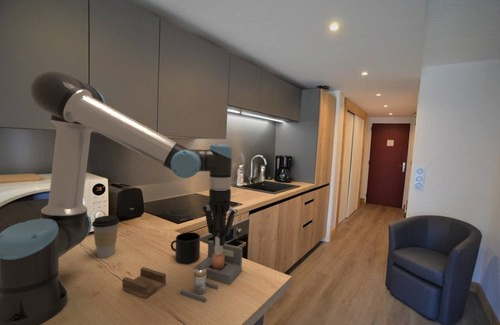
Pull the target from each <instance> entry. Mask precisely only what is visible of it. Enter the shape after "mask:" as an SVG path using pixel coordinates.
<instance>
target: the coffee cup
mask: <svg viewBox="0 0 500 325" xmlns="http://www.w3.org/2000/svg"><path fill="white" fill-rule="evenodd" d="M119 223H120V219H119V218H118V216H116V215H111V214H110V215H101V216H98V217H96V218H94V220H93V222H91V227H93V237H94V245H95V248H96V254H97V257H98V258H108V257H109V258H110V257H112V256H113V255H114V254H115V251H116V242H117V236H118V229H119V227H118V224H119Z"/></svg>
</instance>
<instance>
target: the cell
mask: <svg viewBox="0 0 500 325" xmlns="http://www.w3.org/2000/svg"><path fill="white" fill-rule="evenodd" d="M192 273H193V281H192V282H193V287H192V288H193V292H192V293H195V294H198V295H201V296H203V295H204V294H205V293H206V292H207V286H206V281H207V279H208V278H207V268H206V267H205V266H197V267H195V266H194V268H193V272H192Z"/></svg>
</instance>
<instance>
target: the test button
mask: <svg viewBox="0 0 500 325" xmlns="http://www.w3.org/2000/svg"><path fill="white" fill-rule="evenodd" d="M224 256H225V255H224V253H221V254H220V255H219V256H218V255H215V253H213V254H212V267H213V268H215V269H216V270H218V269H221V268H223V267H224Z"/></svg>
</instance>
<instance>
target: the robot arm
mask: <svg viewBox="0 0 500 325" xmlns="http://www.w3.org/2000/svg"><path fill="white" fill-rule="evenodd" d="M30 96H31V98H32V100H33V102H34V104H36V106H38V108H40V109H42V111H45V112H46V113H49V114H51V115H50V122H51V123H52V124H53V125H54V126H55V127H56V131H55V142H54V148H53V149H54V150H53V158H52V159H53V161H52V168H51V169H52V170H51V175H50V176H51V179H50V184H49V185H50V187H49V195H48V204H47V205H45V206H44V207H42V208H41V210H40V216H39V217H40V218H35V219H30V220H25V221H24V222H19V223H15V224H12V225H11V226H9V227H7V228H5V229H4V230H2V231H1V232H0V325H40V324H42V323H44V322H46V321H48V320H50V319H51V318H53V317H55V316H56V315H57V314H59V312H61V311H62V310H63V308H64V307H65V306H66V305H67V303H68V291H67V289H66V287H65V285H64V283H63V281H62V279H61V277H60V274H59V272H60V271H59V269H60V267H59V265H60V264H59V262H60V261H59V259H60V257H63V255H65V254H66V253H68V252H70V251H71V250H72V249H73V248H75V247H76V246H78V245H79V244H80V243H82V242H83V241H84V240H85V239H86V238H87V236H88V235H89V234H90V232H91V229H92V219H91V216H89V215H88V208H87V206H86V205H84V203H83V202H84V194H85V185H86V178H87V177H86V176H87V168H88V160H89V153H90V152H89V150H90V143H91V142H90V141H91V133H92V132H93V131H94V132H96V133H99V134H100V135H102V136H104V137H106V138H107V139H108V138H109V139H111V140H112V141H114V142H116V143H118V144H120V145H122V146H123V147H126V148H127V149H129V150H132V151H134V152H136V153H138V154H140V155H142V156H143V157H146V158H147V159H149V160H151V161H153V162H155V163H157V164H159V165H161V166H163V167H165V168H166V169H169V170H170V171H172V172H173V174H174V175H176V176H177V177H179V178H181V179H188V178H189V179H190V178H192V177H193V176H195V175H197V173H199V172H209V182H208V183H209V184H208V185H209V186H208V187H209V188H210V189H209V191H208V192H209V193H208V194H209V195H208V198H209V201H208V204H207V205H204V206H202V210H203V211H204V213H205V214H204V215H205V220H206V224H207V231H208V234H210V235H211V234H212V237H213V240H212V241H213V243H214V244H215V255H218V256H219V255H220V254H221V253H222V251H223V245H224V244H226V243H225V242H226V240H225V239H226V237H227V236H229V235H230V234H231V230H232V227H233V222H234V219H235V215H237V213H238V209H234V208H233V206H232V203H231V200H232V199H231V198H232V189H231V187H232V165H233V164H232V161H233V157H232V154H233V153H232V149H233V148H232V146H231V145H229V144H217V143H216V144H214V143H213V144H210V147H209V149H196V148H195V149H193V148H188V147H186V146H184V145H182V144H180V143H178V142H176V141H174V140H172V139H170V138H169V137H167V136H165V135H164V134H161V133H159V132H158V131H156V130H154V129H152V128H150V127H148V126H146V125H144V124H143V123H140V122H139V121H137V120H135V119H133V118H132V117H129V116H128V115H126V114H124V113H122V111H121V112H120V111H119V110H117V109H115V108H114V107H111V106H109V105H108V104H106V100H105V98H104V96H103V95H102V93H101V92H100V91H99V90H98V89H96V88H95V87H94V86H92V85H91V84H89V83H87V82H83V81H82V80H80V79H78V78H75V77H74V76H72V75H69V74H67V73H65V72H60V71H47V72H43V73H40V74H38V75H37V76H36V77H35V78H34V79H33V80H32V82H31V85H30ZM227 213H228V217H227Z"/></svg>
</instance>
